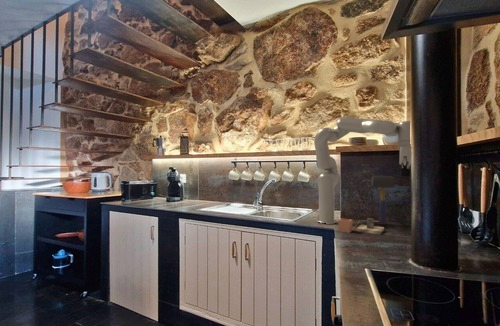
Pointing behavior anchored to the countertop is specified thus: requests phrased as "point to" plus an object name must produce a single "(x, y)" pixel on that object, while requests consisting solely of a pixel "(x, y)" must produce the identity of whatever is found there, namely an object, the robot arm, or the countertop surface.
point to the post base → (375, 230)
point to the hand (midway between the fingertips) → (406, 176)
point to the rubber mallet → (383, 192)
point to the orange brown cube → (345, 225)
